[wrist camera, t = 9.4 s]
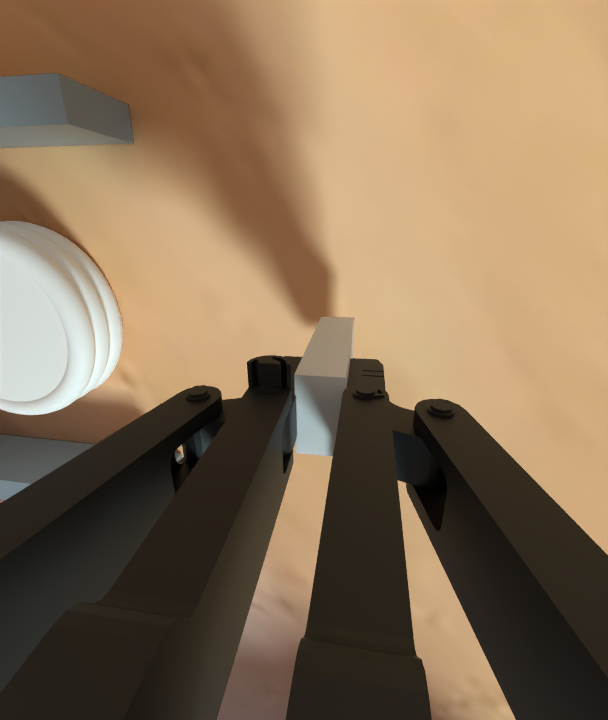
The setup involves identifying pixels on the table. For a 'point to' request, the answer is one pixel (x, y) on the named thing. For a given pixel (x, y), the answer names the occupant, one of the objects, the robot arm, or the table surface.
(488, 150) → the table surface
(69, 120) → the box
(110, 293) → the white round container
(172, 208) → the table surface
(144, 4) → the table surface
